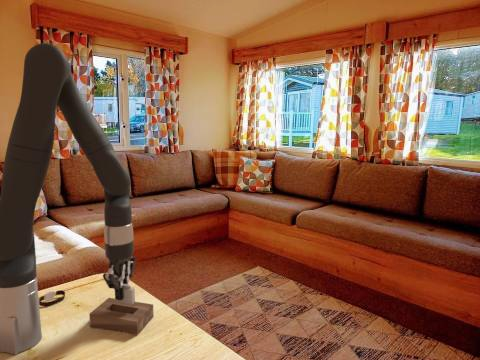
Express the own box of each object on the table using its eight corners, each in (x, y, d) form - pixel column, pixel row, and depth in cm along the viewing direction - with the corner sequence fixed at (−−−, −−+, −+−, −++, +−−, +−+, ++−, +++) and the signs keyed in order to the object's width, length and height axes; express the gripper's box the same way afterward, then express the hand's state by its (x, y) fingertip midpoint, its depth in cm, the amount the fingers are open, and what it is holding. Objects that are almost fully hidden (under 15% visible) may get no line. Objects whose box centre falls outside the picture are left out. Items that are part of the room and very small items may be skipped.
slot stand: (137, 335, 95) (137, 321, 94) (90, 326, 98) (89, 313, 98) (153, 316, 104) (153, 304, 103) (109, 309, 107) (108, 297, 107)
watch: (61, 295, 116) (60, 285, 115) (68, 300, 113) (67, 289, 112) (36, 304, 110) (35, 293, 109) (43, 309, 107) (42, 298, 106)
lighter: (135, 301, 100) (134, 275, 99) (132, 304, 99) (131, 277, 97) (113, 298, 102) (111, 272, 100) (109, 301, 100) (108, 274, 99)
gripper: (120, 230, 104) (123, 284, 107) (91, 246, 91) (95, 308, 94) (144, 232, 103) (145, 287, 106) (117, 249, 89) (120, 312, 93)
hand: (121, 297), depth 100 cm, fingers closed on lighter, 2 cm apart
